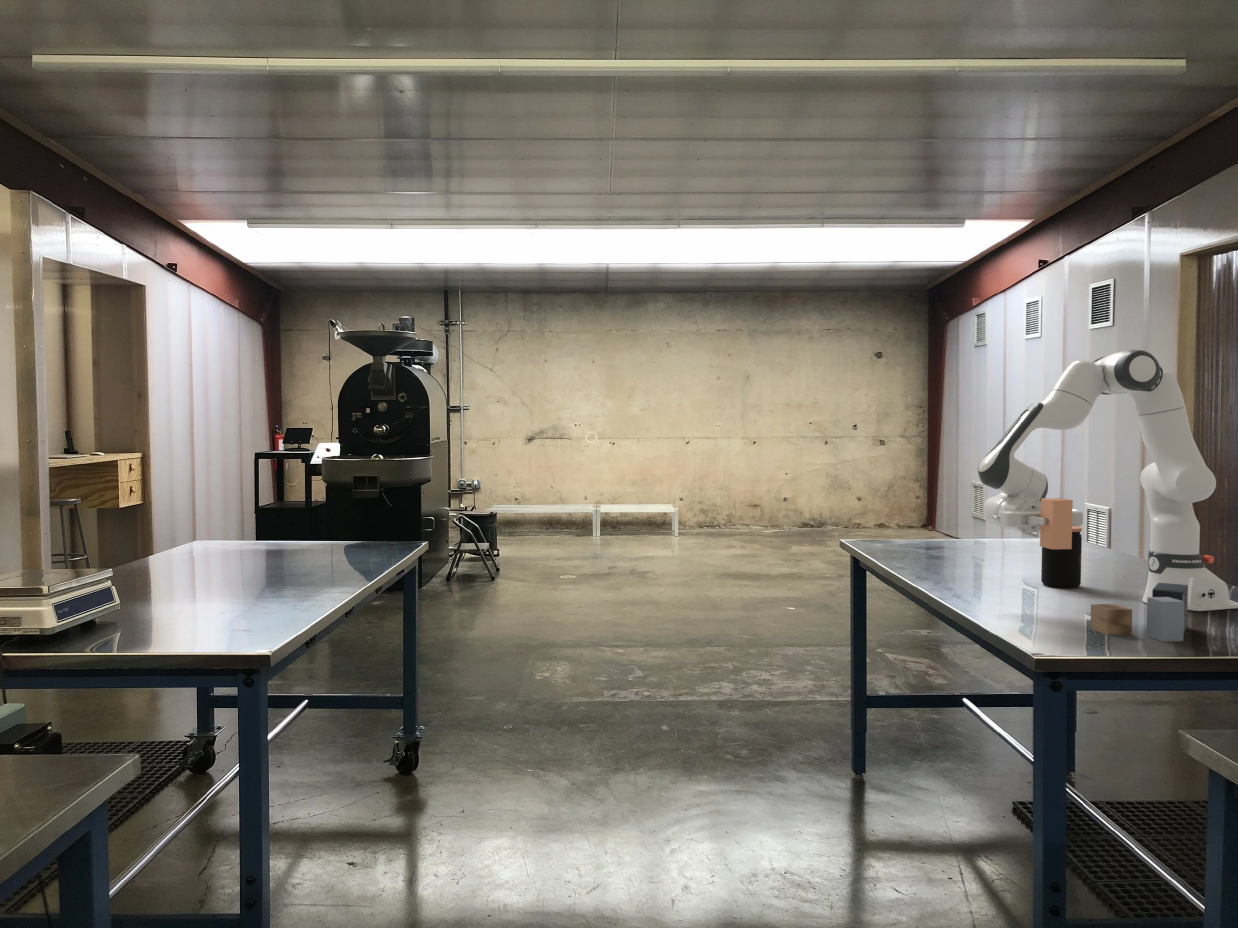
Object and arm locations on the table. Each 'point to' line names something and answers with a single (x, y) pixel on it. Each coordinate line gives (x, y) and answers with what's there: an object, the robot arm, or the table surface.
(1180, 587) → the small box
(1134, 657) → the table surface
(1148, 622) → the slate block
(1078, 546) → the coffee jar
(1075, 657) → the table surface
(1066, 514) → the terracotta block
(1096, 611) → the walnut block
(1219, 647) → the table surface
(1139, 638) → the table surface
